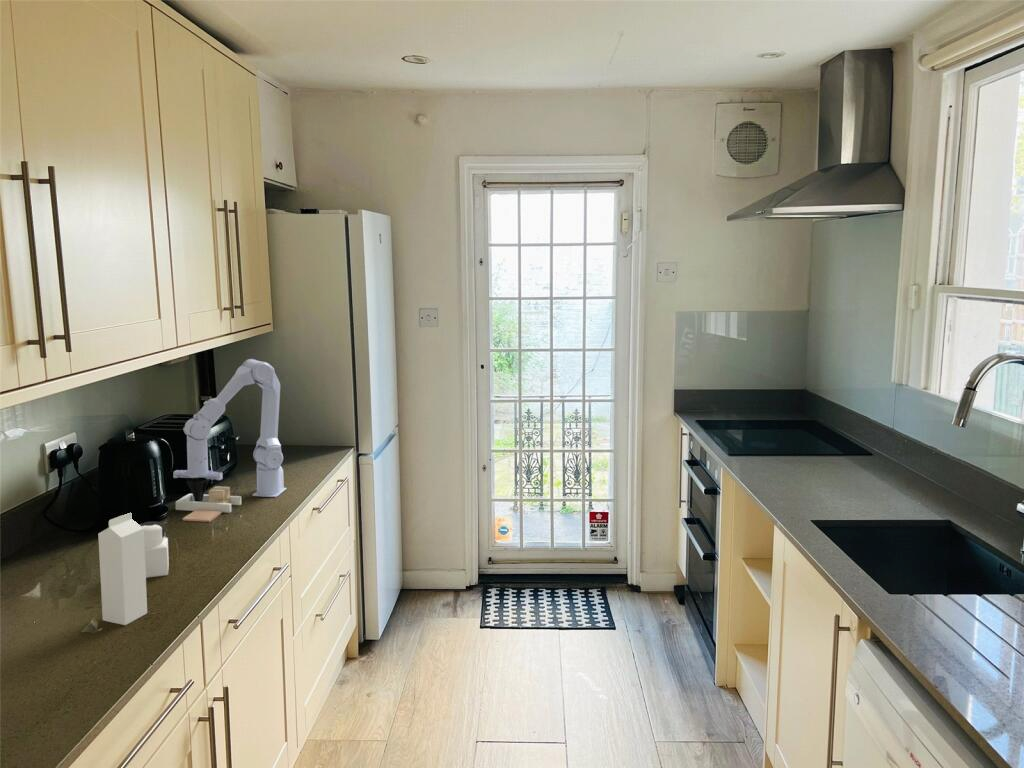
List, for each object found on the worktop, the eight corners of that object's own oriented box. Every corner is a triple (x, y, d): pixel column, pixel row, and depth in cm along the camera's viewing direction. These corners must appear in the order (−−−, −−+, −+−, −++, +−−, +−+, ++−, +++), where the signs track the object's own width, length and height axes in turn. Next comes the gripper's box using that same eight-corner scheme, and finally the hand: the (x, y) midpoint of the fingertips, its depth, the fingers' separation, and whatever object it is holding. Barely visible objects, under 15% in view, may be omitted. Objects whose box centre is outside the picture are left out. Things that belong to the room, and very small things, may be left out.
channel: (189, 501, 234) (189, 493, 233) (241, 504, 233) (241, 496, 232) (175, 509, 225) (175, 501, 225) (229, 512, 224) (229, 504, 224)
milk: (102, 620, 155) (96, 518, 152) (125, 608, 161) (120, 509, 157) (125, 625, 153) (119, 522, 150) (148, 613, 159) (143, 513, 156)
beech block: (215, 505, 231) (215, 486, 230) (230, 505, 231) (229, 487, 230) (209, 509, 227) (208, 490, 226) (223, 510, 226) (223, 491, 226)
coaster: (196, 511, 224) (195, 509, 224) (222, 513, 224) (221, 511, 224) (182, 520, 216) (182, 518, 216) (209, 521, 216) (209, 519, 216)
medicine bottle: (136, 568, 182) (134, 520, 180) (168, 564, 185) (167, 517, 183) (134, 579, 175) (132, 530, 174) (168, 575, 178) (166, 527, 176)
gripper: (167, 460, 223) (169, 504, 225) (214, 462, 223) (215, 506, 225) (179, 454, 230) (180, 497, 232) (225, 456, 230) (226, 499, 232)
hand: (198, 501), depth 229 cm, fingers closed
